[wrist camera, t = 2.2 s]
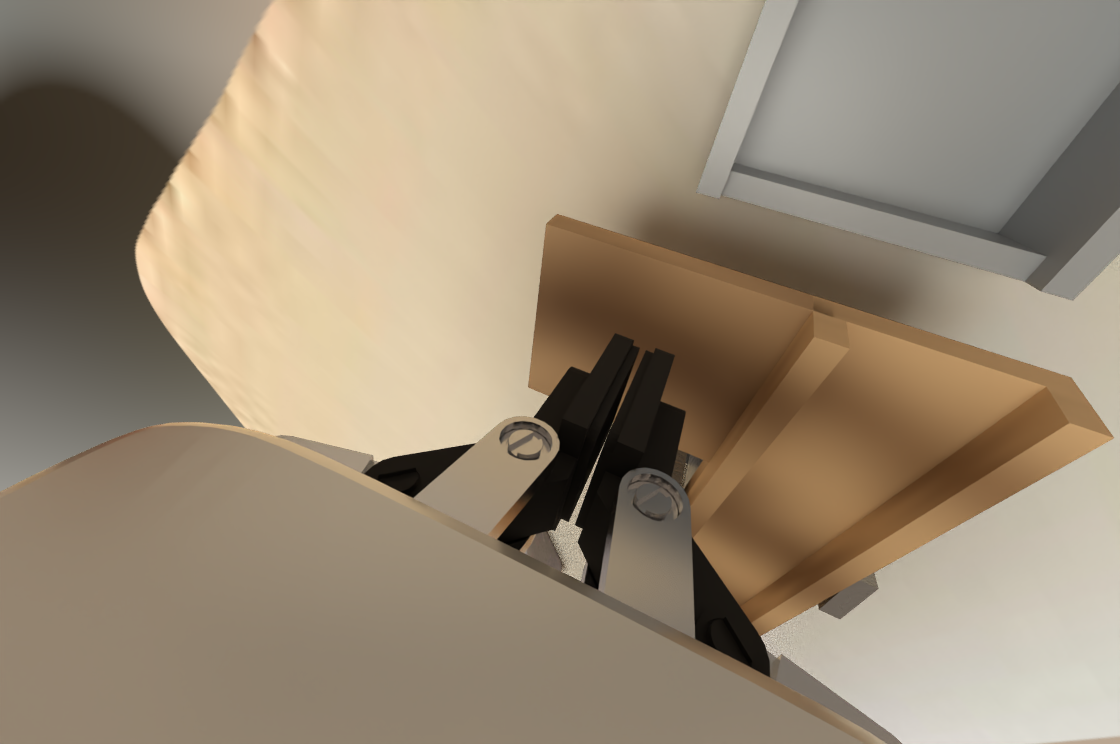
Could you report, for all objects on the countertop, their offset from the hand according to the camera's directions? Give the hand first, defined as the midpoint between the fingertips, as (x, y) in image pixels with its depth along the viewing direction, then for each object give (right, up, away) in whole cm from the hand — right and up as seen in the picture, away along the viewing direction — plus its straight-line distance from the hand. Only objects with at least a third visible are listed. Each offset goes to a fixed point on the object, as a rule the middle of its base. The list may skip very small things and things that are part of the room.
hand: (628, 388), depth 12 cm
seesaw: (+4, -4, +9) cm, 10 cm away
